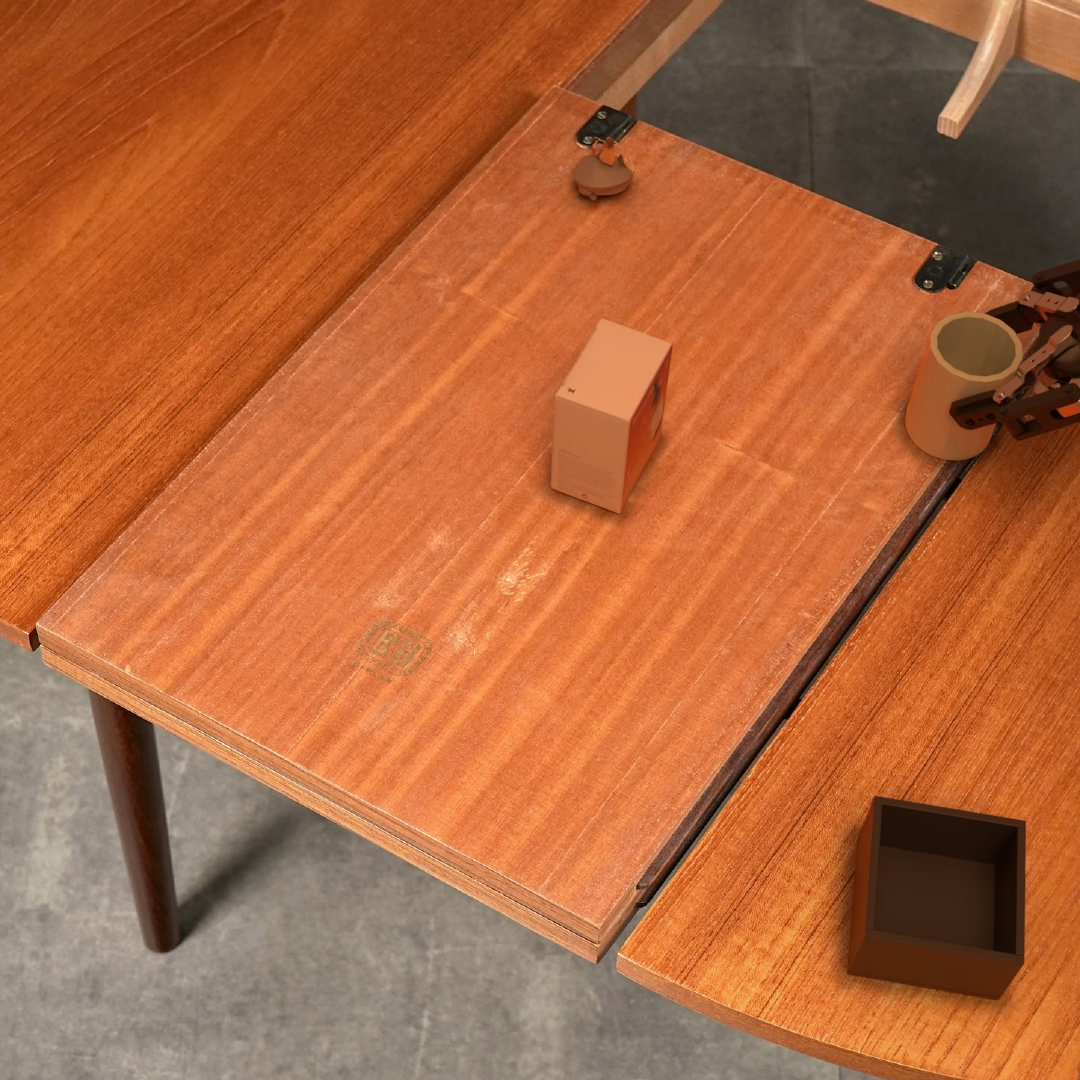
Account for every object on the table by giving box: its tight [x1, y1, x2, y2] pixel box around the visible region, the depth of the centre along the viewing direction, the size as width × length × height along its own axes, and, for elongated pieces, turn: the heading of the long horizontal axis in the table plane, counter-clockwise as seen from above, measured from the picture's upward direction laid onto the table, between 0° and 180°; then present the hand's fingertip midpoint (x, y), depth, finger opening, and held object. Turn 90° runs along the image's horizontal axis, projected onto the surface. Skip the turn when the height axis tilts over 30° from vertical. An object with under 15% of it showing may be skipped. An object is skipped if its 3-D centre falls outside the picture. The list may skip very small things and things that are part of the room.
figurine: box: [572, 136, 637, 202], centre depth 137 cm, size 5×4×6 cm
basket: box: [846, 795, 1027, 1001], centre depth 101 cm, size 9×9×6 cm
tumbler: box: [904, 311, 1024, 462], centre depth 122 cm, size 6×6×9 cm
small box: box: [550, 317, 674, 515], centre depth 119 cm, size 8×6×10 cm
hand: (967, 373), depth 121 cm, fingers open, 8 cm apart
